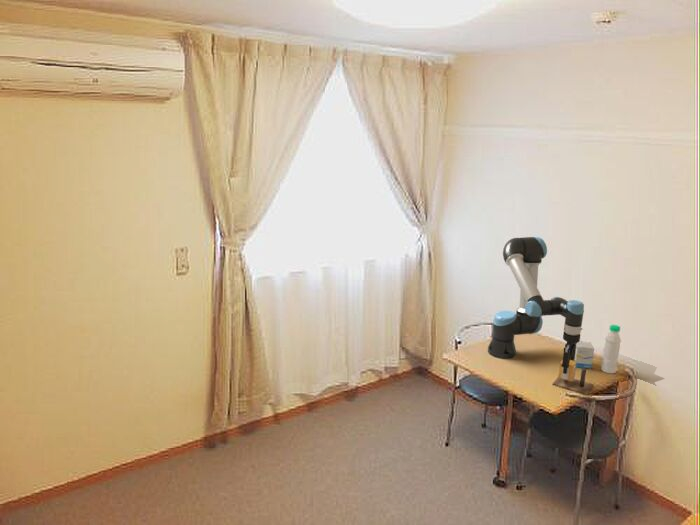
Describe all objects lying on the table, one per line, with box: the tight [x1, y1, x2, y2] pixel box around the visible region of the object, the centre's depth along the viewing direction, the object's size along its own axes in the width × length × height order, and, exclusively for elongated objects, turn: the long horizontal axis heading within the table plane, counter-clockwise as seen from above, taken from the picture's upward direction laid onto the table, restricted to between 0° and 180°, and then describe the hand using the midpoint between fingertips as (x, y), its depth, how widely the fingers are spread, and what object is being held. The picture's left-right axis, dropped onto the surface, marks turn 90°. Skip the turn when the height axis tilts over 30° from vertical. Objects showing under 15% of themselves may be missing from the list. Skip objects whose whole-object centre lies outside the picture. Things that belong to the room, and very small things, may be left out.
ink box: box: [574, 340, 595, 370], centre depth 275 cm, size 9×8×12 cm
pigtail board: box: [552, 368, 594, 395], centre depth 253 cm, size 16×12×10 cm
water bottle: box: [600, 324, 622, 374], centre depth 267 cm, size 7×7×25 cm
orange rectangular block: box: [558, 359, 577, 381], centre depth 254 cm, size 6×6×8 cm
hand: (566, 376), depth 255 cm, fingers closed on orange rectangular block, 6 cm apart
